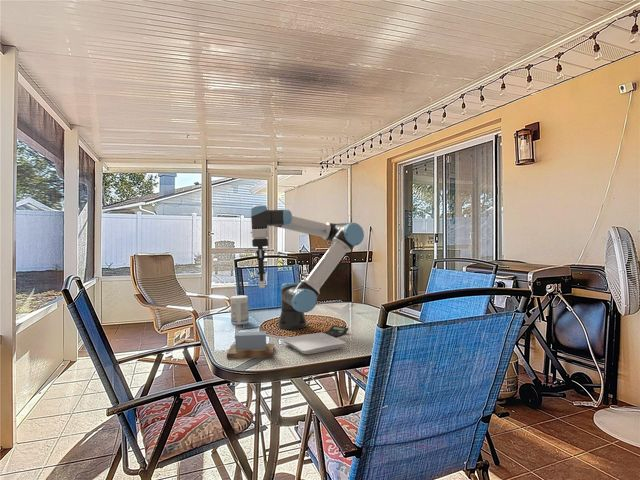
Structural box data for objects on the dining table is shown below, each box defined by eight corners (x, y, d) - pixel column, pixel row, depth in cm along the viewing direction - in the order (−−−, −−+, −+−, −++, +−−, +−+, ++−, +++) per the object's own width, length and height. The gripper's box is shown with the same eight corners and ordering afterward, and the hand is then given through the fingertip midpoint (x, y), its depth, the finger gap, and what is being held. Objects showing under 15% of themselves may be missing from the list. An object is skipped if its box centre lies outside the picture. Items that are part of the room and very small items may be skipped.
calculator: (318, 335, 183) (318, 329, 183) (333, 330, 192) (333, 324, 192) (333, 339, 177) (333, 332, 177) (348, 333, 186) (348, 327, 186)
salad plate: (281, 345, 168) (281, 337, 167) (322, 338, 178) (322, 331, 178) (302, 359, 149) (302, 350, 149) (347, 350, 160) (347, 342, 160)
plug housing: (235, 350, 152) (235, 335, 152) (237, 346, 158) (237, 332, 158) (265, 349, 153) (265, 334, 153) (266, 345, 159) (266, 331, 159)
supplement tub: (248, 320, 214) (248, 294, 214) (249, 324, 205) (248, 297, 205) (230, 321, 212) (230, 295, 212) (230, 325, 203) (230, 298, 203)
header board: (274, 348, 162) (274, 334, 162) (272, 357, 150) (272, 343, 150) (231, 349, 161) (231, 336, 161) (226, 358, 149) (226, 344, 149)
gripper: (252, 238, 186) (254, 286, 186) (251, 238, 173) (253, 290, 173) (268, 237, 187) (269, 285, 187) (268, 238, 174) (270, 289, 174)
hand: (262, 287), depth 180 cm, fingers closed
